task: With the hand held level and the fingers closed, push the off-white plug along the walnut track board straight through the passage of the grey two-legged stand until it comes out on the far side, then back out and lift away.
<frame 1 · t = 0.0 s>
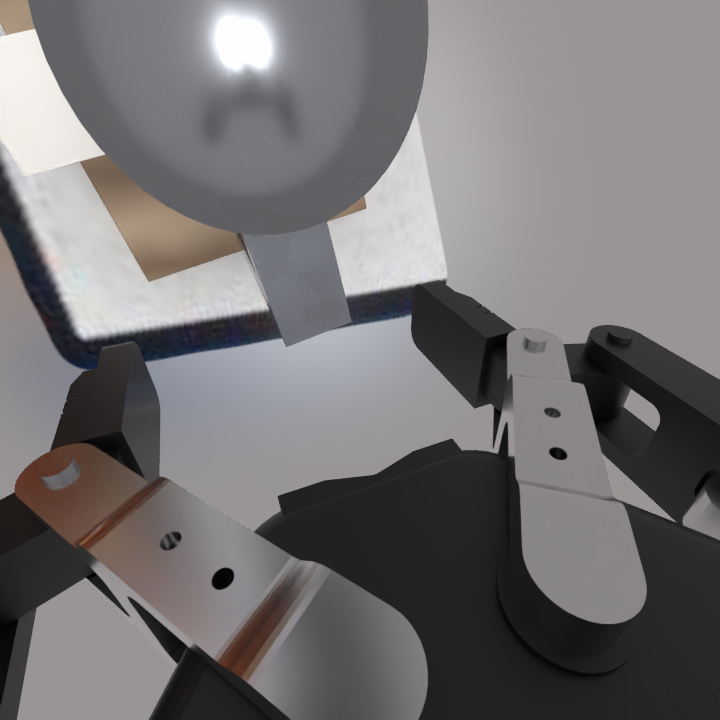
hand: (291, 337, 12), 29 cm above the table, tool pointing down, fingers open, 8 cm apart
plug: (79, 96, 24), point 8 cm above the table, slide at 0.0 cm
track board: (198, 67, 31), on the table
grey two-legged stand: (215, 61, 20), on the track board, point 14 cm above the table
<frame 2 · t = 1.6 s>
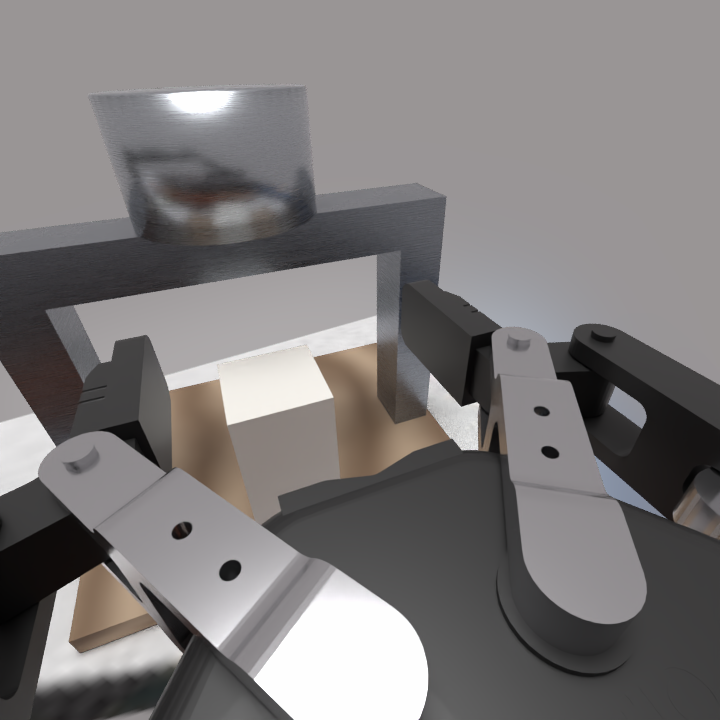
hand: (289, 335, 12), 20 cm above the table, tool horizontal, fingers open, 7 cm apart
plug: (284, 452, 25), point 8 cm above the table, slide at 0.0 cm
track board: (278, 453, 35), on the table
grey two-legged stand: (248, 311, 27), on the track board, point 14 cm above the table
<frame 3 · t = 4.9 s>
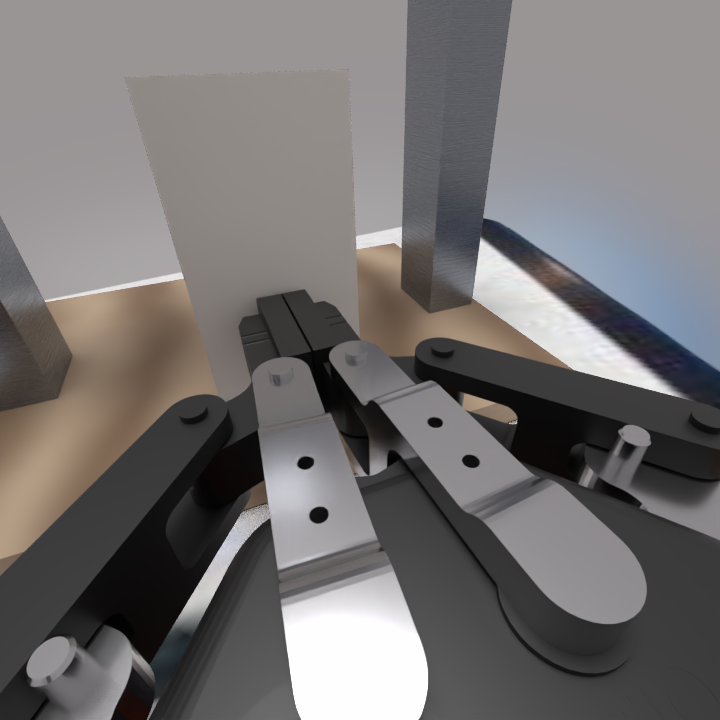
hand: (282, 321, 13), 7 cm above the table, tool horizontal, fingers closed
plug: (264, 273, 15), point 8 cm above the table, slide at 0.6 cm, touching gripper
track board: (264, 354, 25), on the table
grey two-legged stand: (209, 78, 17), on the track board, point 14 cm above the table
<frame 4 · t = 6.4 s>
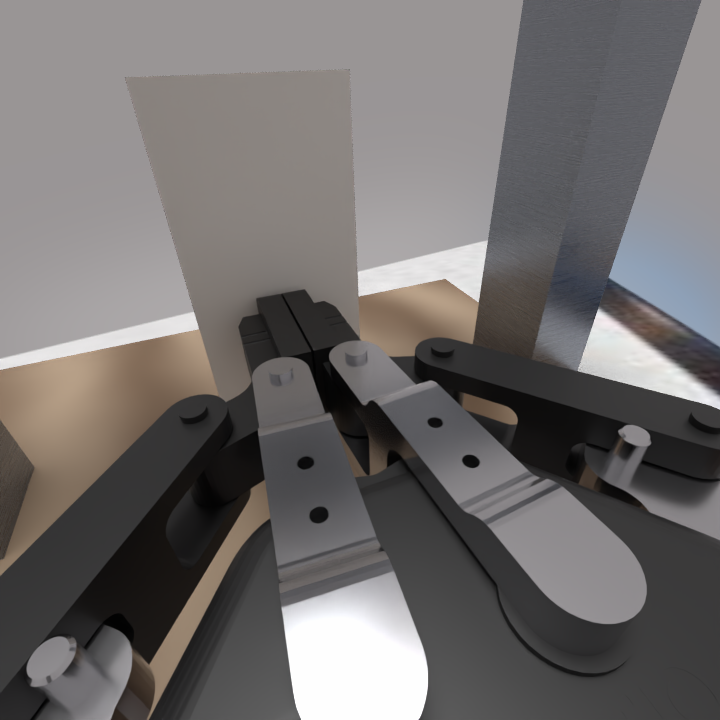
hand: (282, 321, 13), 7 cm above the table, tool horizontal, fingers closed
plug: (264, 273, 15), point 8 cm above the table, slide at 9.2 cm, touching gripper
track board: (300, 453, 18), on the table
grey two-legged stand: (237, 76, 10), on the track board, point 14 cm above the table
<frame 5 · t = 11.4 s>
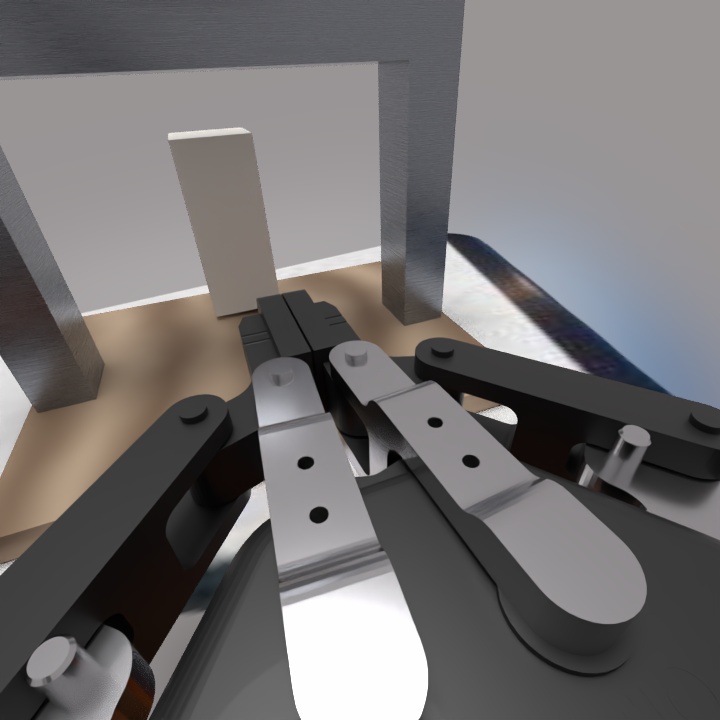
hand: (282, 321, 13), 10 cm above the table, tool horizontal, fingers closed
plug: (227, 222, 31), point 8 cm above the table, slide at 15.5 cm
track board: (264, 362, 29), on the table
grey two-legged stand: (218, 145, 22), on the track board, point 14 cm above the table
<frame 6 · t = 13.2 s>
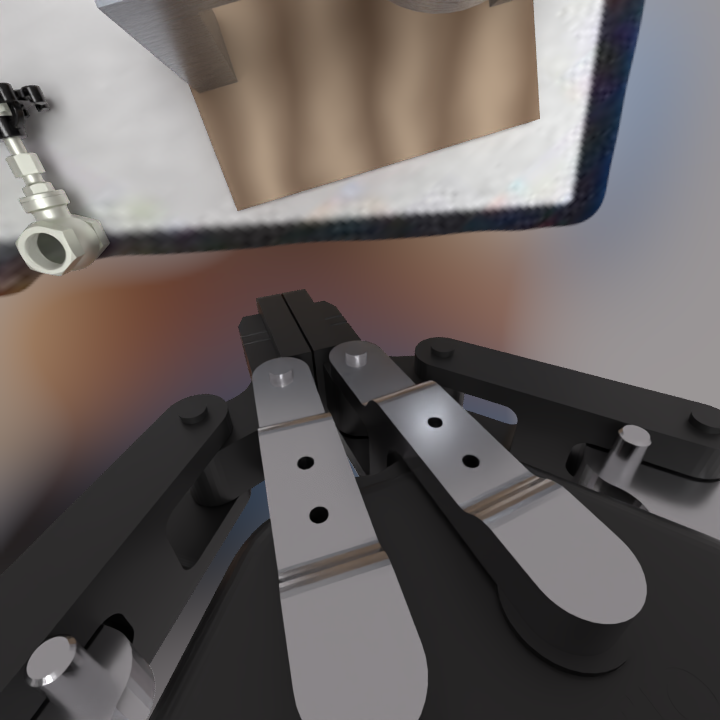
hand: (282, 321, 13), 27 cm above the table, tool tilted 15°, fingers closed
track board: (354, 18, 32), on the table
valve: (62, 188, 34), on the table
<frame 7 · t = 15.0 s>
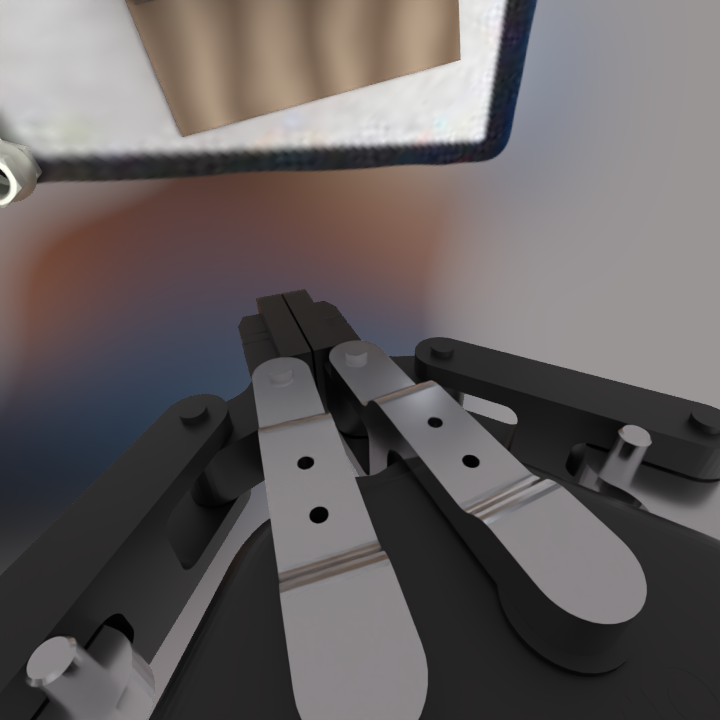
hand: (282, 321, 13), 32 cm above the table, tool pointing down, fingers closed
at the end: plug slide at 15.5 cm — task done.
